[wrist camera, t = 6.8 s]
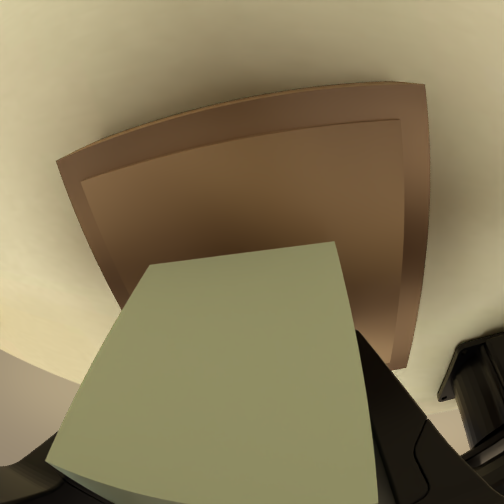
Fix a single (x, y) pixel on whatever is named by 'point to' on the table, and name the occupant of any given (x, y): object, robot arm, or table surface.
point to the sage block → (227, 388)
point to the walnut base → (272, 193)
